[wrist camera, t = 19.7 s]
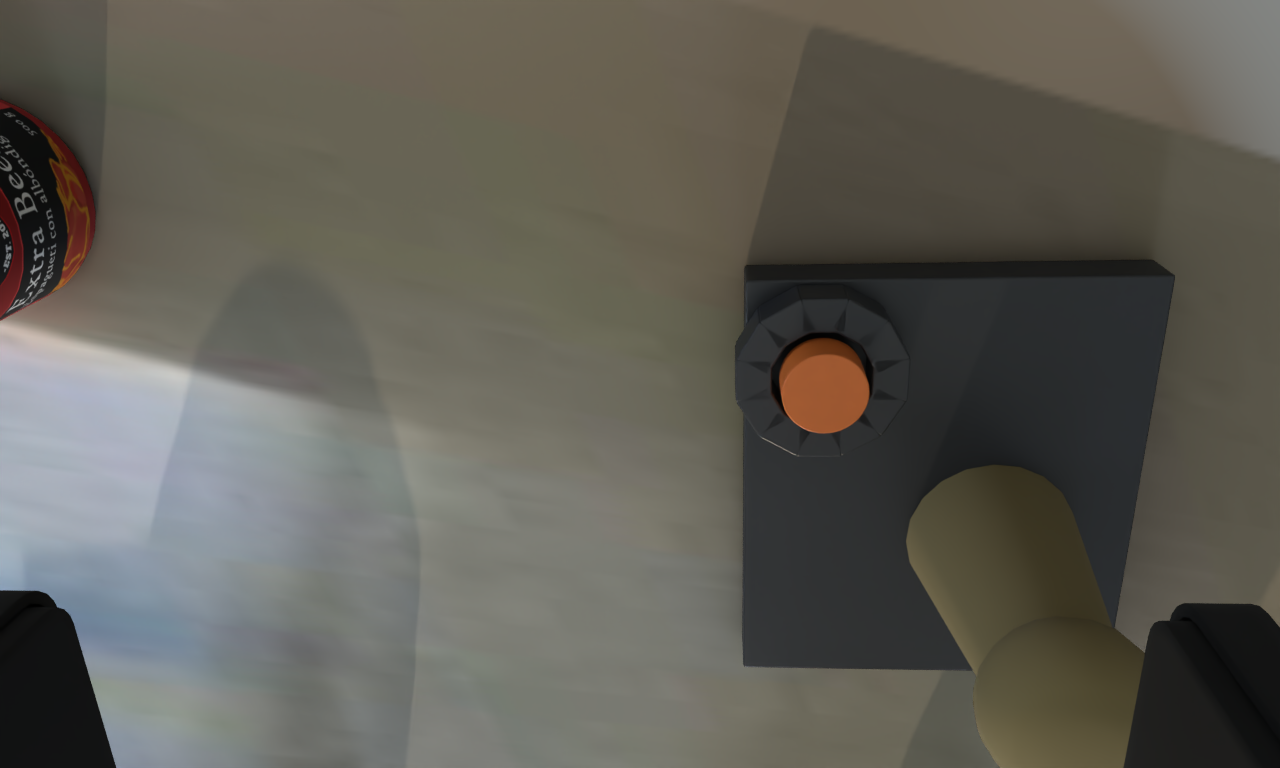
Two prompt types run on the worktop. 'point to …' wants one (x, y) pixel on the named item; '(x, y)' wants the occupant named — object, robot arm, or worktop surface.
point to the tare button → (823, 385)
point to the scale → (932, 435)
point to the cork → (1027, 619)
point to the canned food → (39, 211)
